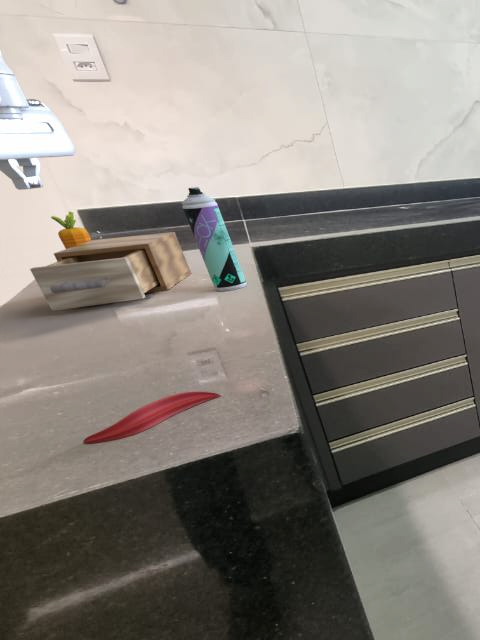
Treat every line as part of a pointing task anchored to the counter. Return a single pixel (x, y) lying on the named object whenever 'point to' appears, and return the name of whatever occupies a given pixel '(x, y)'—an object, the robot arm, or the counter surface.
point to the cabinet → (157, 246)
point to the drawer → (96, 279)
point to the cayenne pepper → (151, 415)
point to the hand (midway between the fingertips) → (30, 188)
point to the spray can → (213, 241)
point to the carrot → (71, 232)
